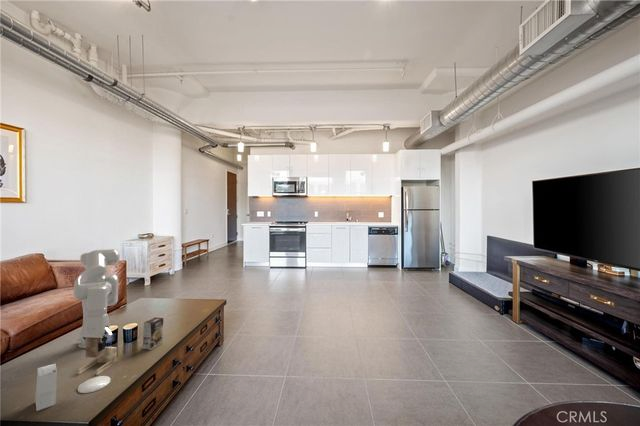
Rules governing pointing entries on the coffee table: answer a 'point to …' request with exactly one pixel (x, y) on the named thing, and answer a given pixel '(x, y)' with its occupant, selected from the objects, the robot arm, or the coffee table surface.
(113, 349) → the birch slot
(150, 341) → the coffee box
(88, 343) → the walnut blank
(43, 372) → the skincare box
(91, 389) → the ceramic coaster
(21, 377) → the coffee table surface
